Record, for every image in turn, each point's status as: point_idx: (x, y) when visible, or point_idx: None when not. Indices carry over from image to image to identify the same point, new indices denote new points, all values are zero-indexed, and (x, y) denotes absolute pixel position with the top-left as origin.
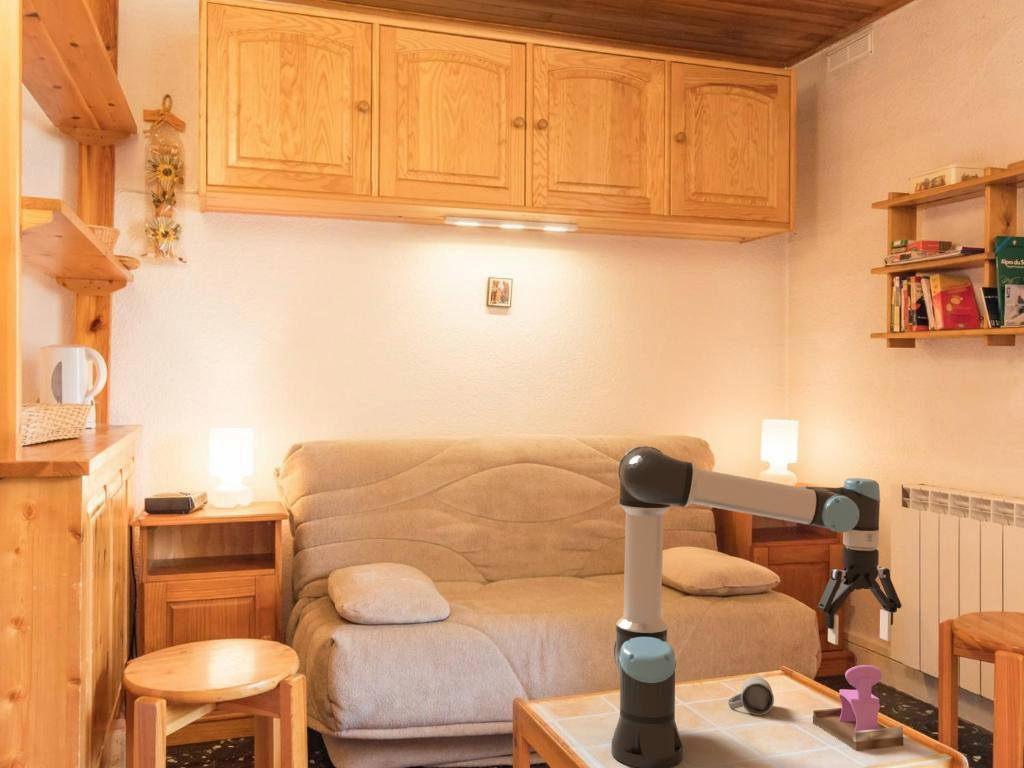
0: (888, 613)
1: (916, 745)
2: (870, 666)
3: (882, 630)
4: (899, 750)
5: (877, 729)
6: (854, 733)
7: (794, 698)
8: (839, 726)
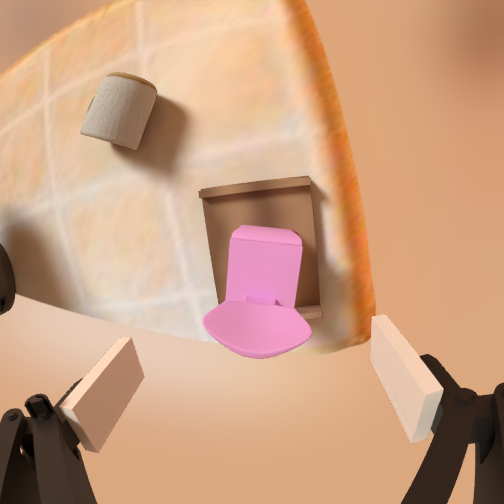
0: (411, 440)
1: (340, 308)
2: (268, 357)
3: (383, 351)
4: None
5: None
6: None
7: (231, 62)
8: (227, 251)
